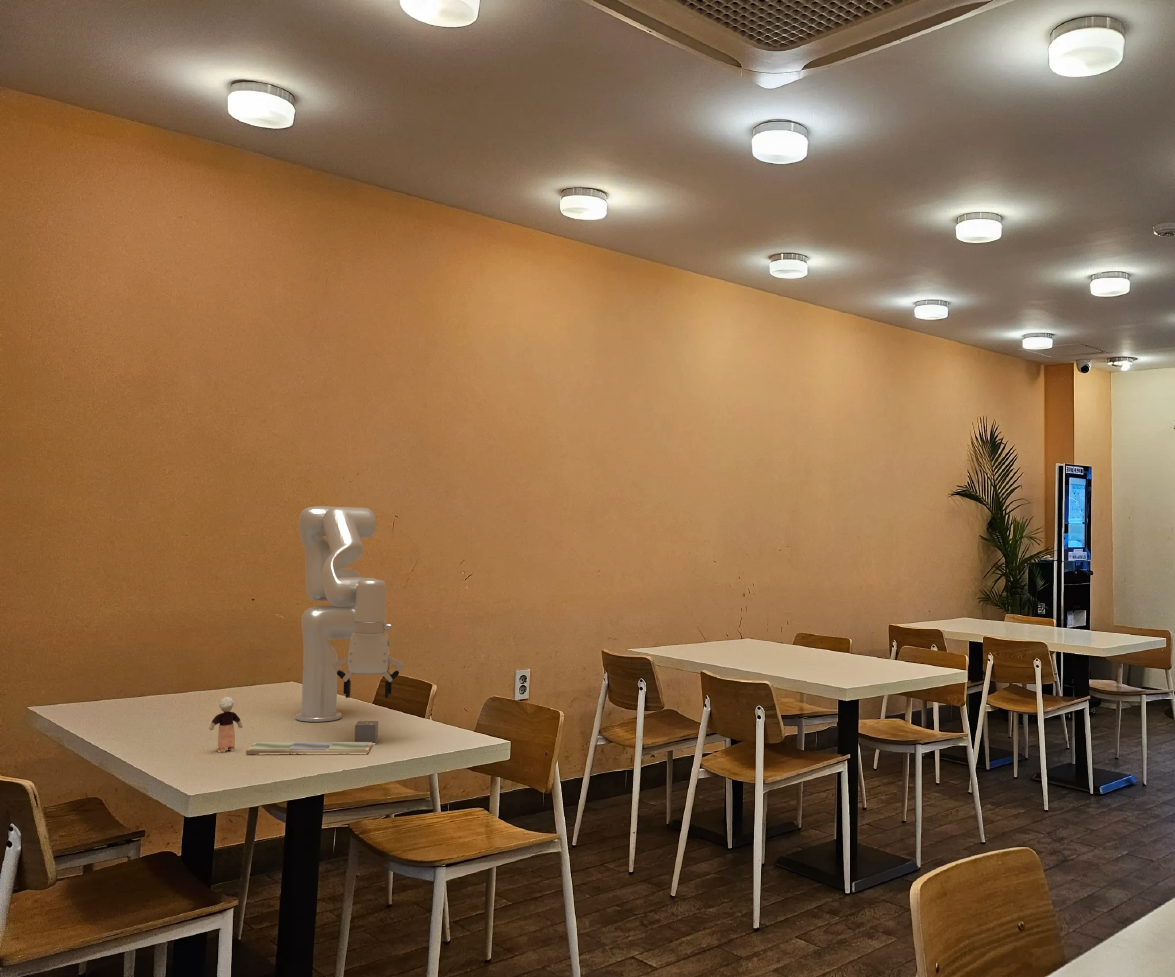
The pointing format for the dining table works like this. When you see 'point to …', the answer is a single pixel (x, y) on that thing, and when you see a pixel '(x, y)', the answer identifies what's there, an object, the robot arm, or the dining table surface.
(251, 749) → the board
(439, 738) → the dining table surface
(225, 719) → the grandmother figurine
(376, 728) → the die
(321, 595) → the robot arm
